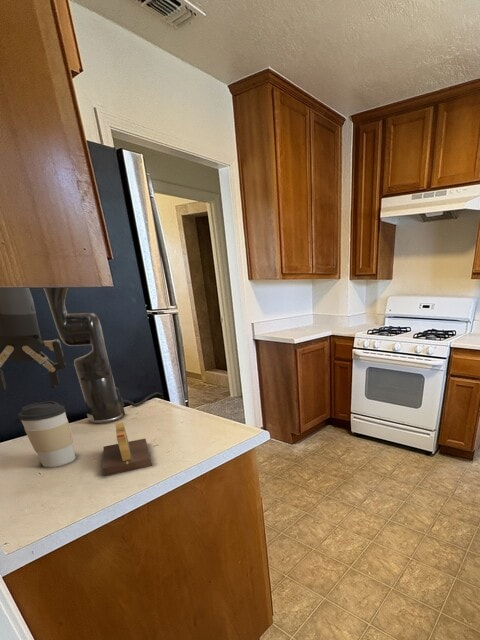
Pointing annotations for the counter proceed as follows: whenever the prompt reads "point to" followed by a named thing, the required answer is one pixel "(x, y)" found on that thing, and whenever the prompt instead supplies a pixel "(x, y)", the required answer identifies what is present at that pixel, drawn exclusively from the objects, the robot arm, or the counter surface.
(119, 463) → the brown square board
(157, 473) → the counter surface
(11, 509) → the counter surface
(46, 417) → the coffee cup
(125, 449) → the wooden toy block
